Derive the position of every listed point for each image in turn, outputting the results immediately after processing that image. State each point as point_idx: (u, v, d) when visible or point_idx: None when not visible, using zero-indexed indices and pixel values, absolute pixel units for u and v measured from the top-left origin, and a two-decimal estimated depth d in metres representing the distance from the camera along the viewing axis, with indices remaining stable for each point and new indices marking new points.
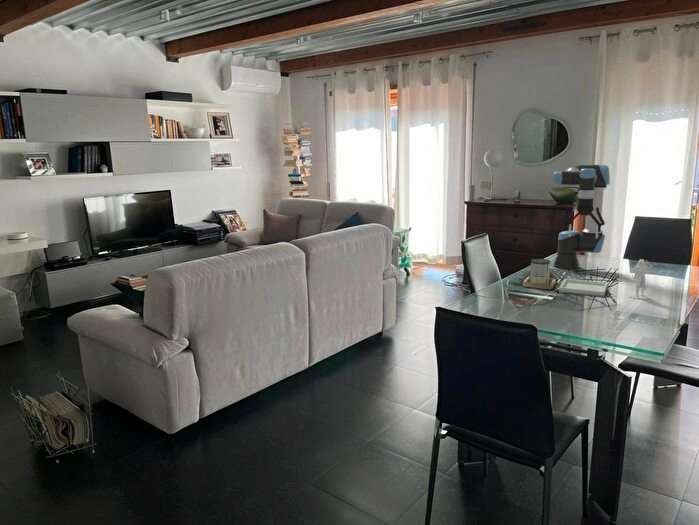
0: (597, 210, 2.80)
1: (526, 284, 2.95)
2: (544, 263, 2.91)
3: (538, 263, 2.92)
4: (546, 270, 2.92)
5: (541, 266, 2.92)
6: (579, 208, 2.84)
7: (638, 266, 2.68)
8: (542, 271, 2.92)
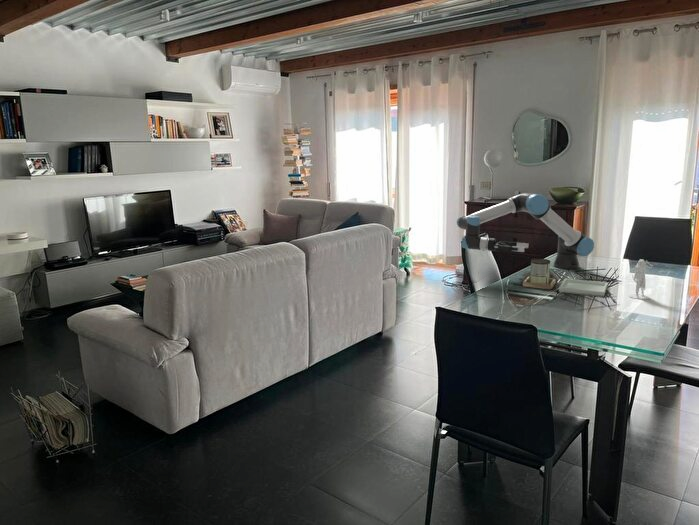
0: None
1: (526, 284, 2.95)
2: (544, 263, 2.91)
3: (538, 263, 2.92)
4: (546, 270, 2.92)
5: (541, 266, 2.92)
6: None
7: (638, 266, 2.68)
8: (542, 271, 2.92)
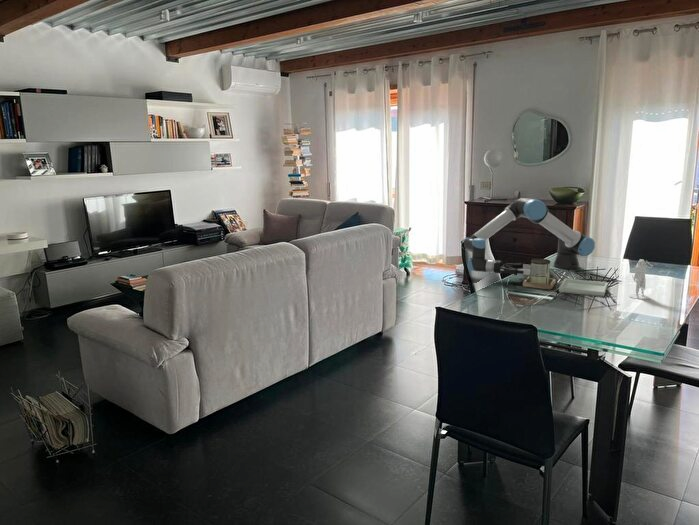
0: None
1: (526, 284, 2.95)
2: (544, 263, 2.91)
3: (538, 263, 2.92)
4: (546, 270, 2.92)
5: (541, 266, 2.92)
6: None
7: (638, 266, 2.68)
8: (542, 271, 2.92)
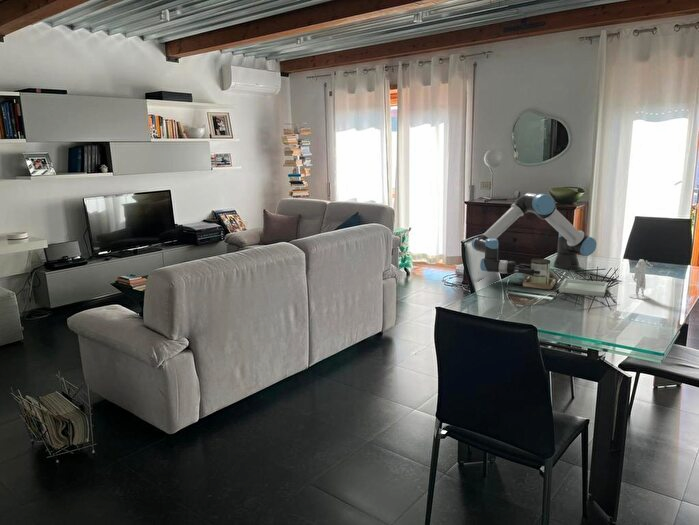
0: None
1: (526, 284, 2.95)
2: (544, 263, 2.91)
3: (538, 263, 2.92)
4: None
5: (541, 266, 2.92)
6: None
7: (638, 266, 2.68)
8: None
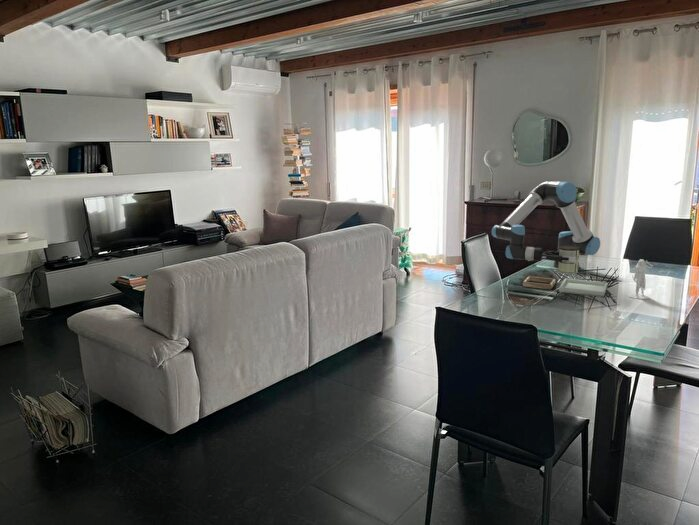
0: None
1: (526, 284, 2.95)
2: (573, 249, 2.81)
3: (567, 249, 2.81)
4: None
5: (570, 252, 2.81)
6: None
7: (638, 266, 2.68)
8: None
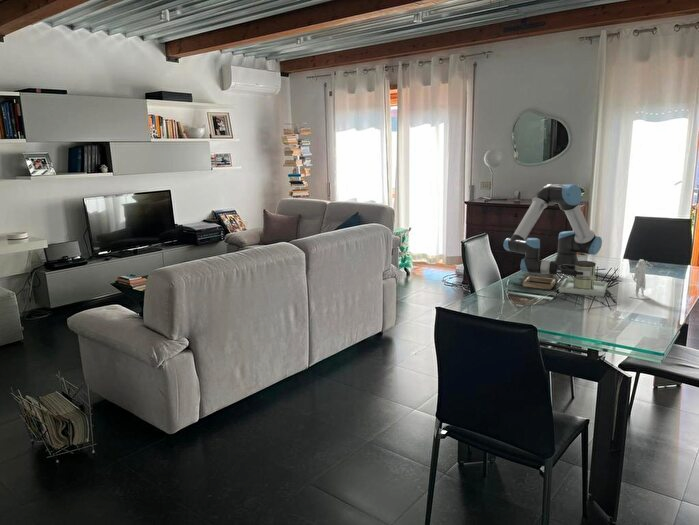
0: None
1: (526, 284, 2.95)
2: (589, 265, 2.79)
3: (583, 265, 2.80)
4: (591, 273, 2.81)
5: (586, 269, 2.80)
6: None
7: (638, 266, 2.68)
8: None
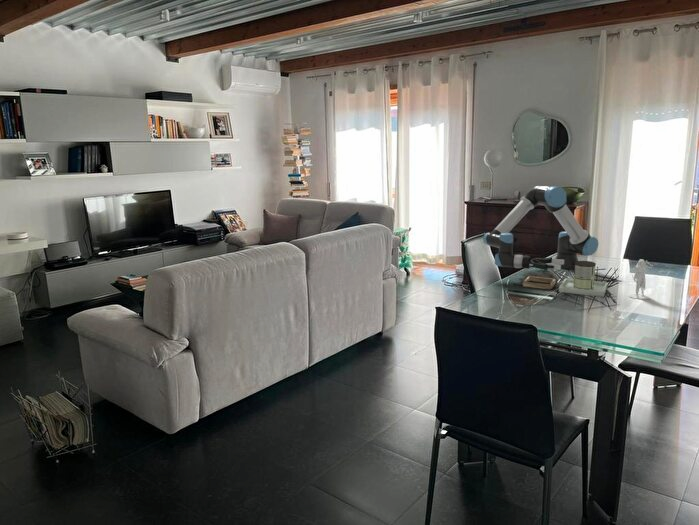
0: None
1: (526, 284, 2.95)
2: (589, 265, 2.80)
3: (583, 265, 2.80)
4: (591, 273, 2.81)
5: (586, 269, 2.80)
6: None
7: (638, 266, 2.68)
8: (587, 274, 2.81)
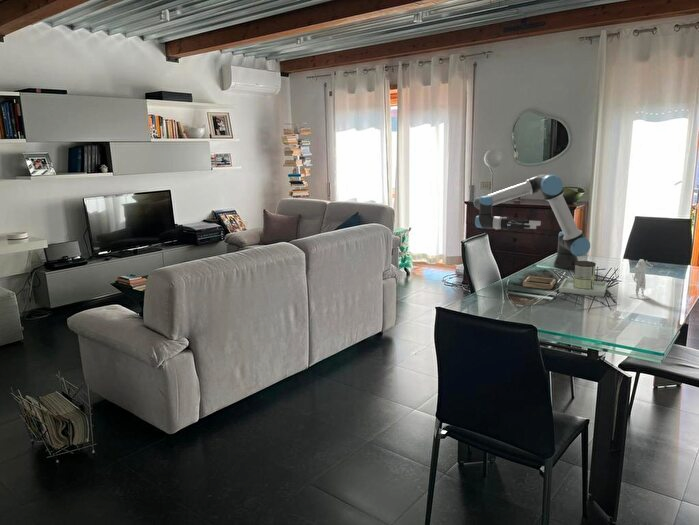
0: (509, 226, 3.08)
1: (526, 284, 2.95)
2: (589, 265, 2.80)
3: (583, 265, 2.80)
4: (591, 273, 2.81)
5: (586, 269, 2.80)
6: None
7: (638, 266, 2.68)
8: (587, 274, 2.81)
